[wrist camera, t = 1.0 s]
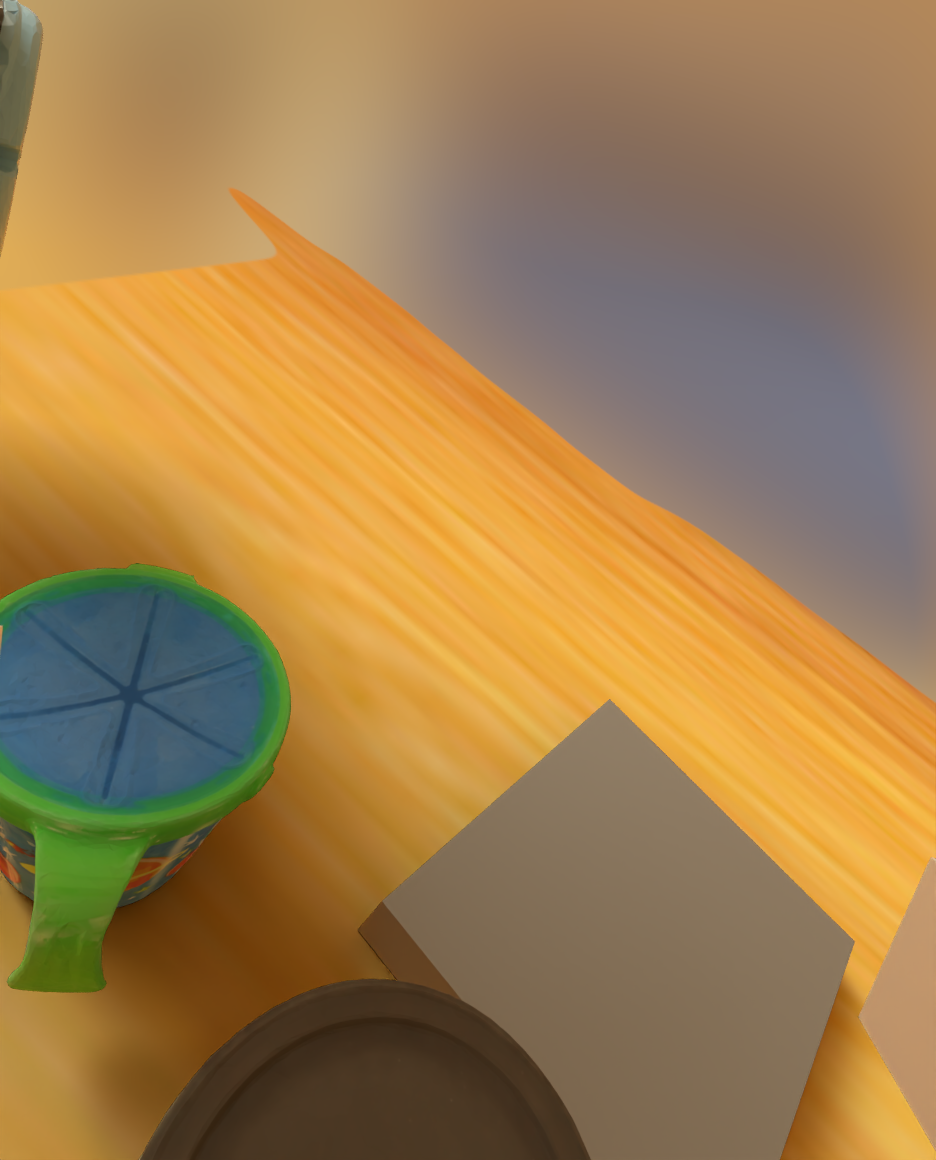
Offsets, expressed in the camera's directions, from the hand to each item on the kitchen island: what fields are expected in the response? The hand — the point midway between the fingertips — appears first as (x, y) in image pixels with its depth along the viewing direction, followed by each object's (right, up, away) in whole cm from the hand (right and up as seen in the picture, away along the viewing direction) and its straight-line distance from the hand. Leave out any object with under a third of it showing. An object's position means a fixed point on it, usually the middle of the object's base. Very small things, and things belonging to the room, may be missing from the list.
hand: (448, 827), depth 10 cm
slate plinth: (+8, -15, +27) cm, 32 cm away
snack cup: (-15, -7, +21) cm, 26 cm away
